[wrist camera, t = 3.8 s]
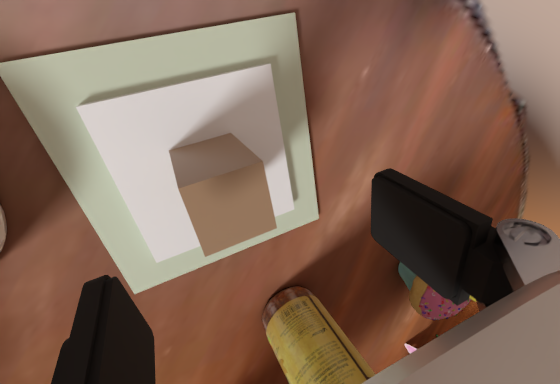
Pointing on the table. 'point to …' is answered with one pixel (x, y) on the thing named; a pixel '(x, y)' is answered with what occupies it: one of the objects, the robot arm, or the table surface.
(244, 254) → the table surface
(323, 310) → the sauce bottle
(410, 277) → the cupcake
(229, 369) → the table surface
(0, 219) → the bowl
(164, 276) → the mat
